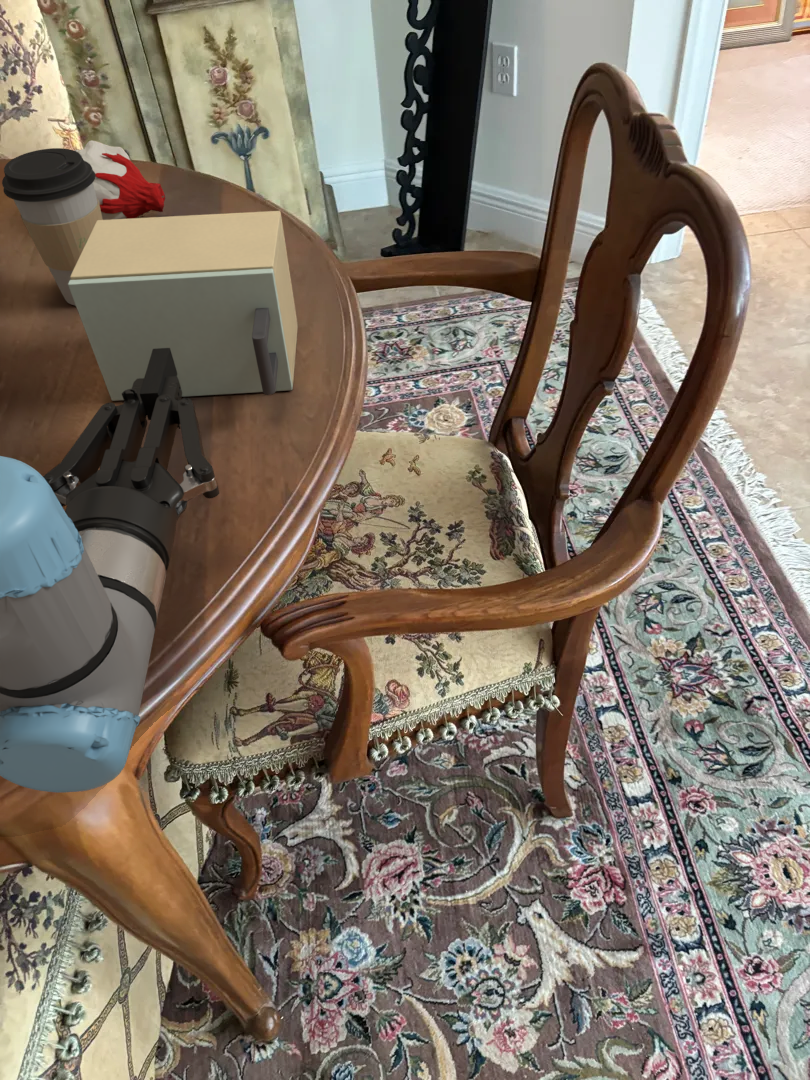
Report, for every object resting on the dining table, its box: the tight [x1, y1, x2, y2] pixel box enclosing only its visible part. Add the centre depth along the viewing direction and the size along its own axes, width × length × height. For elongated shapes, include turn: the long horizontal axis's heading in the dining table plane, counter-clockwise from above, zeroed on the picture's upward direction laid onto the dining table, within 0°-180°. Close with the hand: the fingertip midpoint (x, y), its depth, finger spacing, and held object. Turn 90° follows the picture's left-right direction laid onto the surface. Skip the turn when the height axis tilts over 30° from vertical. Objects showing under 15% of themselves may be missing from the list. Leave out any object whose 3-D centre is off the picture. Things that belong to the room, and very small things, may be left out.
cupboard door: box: [68, 269, 294, 402], centre depth 72 cm, size 6×18×13 cm, turn 93°
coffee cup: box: [1, 147, 103, 307], centre depth 87 cm, size 9×9×15 cm
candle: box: [73, 140, 166, 220], centre depth 102 cm, size 9×11×15 cm
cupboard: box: [70, 210, 299, 386], centre depth 78 cm, size 11×18×13 cm, turn 93°
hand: (165, 361), depth 69 cm, fingers closed
